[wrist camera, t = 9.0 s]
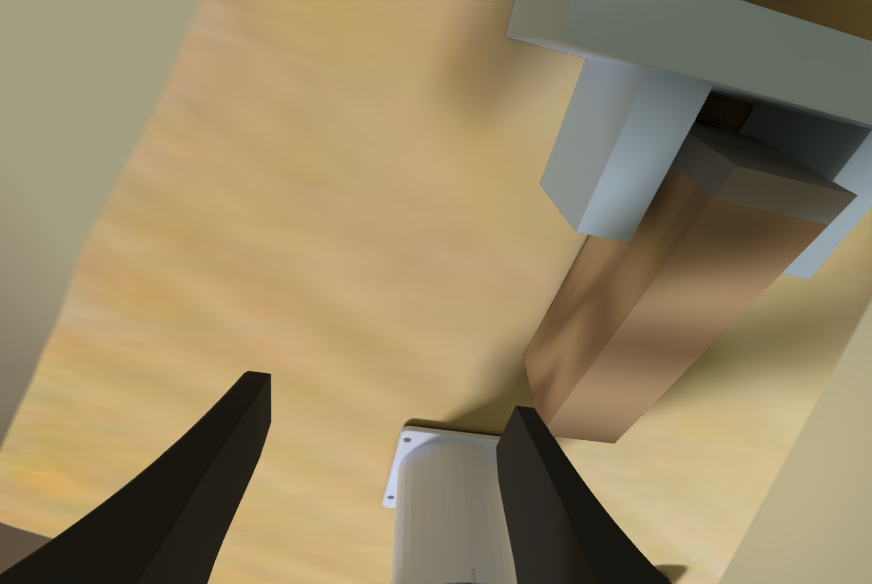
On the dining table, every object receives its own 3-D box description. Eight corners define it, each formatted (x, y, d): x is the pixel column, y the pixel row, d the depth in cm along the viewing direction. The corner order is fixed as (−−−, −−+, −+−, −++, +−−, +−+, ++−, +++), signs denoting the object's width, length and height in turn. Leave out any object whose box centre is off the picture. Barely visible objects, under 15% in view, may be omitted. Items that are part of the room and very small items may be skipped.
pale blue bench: (781, 237, 20) (936, 325, 14) (469, 169, 17) (494, 240, 11) (890, 94, 16) (1157, 130, 10) (518, -14, 14) (589, -47, 8)
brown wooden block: (585, 366, 24) (614, 443, 20) (523, 357, 23) (540, 434, 20) (751, 136, 15) (858, 195, 11) (658, 112, 15) (737, 166, 11)
